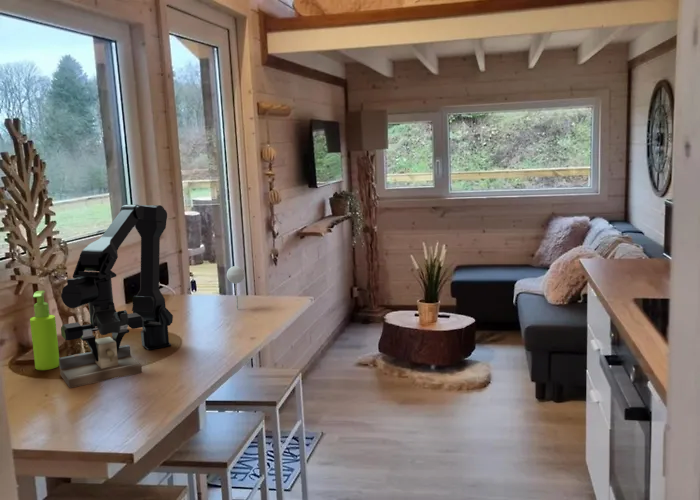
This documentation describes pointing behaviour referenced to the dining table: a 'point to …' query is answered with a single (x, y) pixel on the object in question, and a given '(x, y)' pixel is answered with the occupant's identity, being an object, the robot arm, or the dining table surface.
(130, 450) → the dining table surface
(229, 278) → the lollipop
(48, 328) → the soap dispenser
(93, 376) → the grey stepped stand
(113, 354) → the block
